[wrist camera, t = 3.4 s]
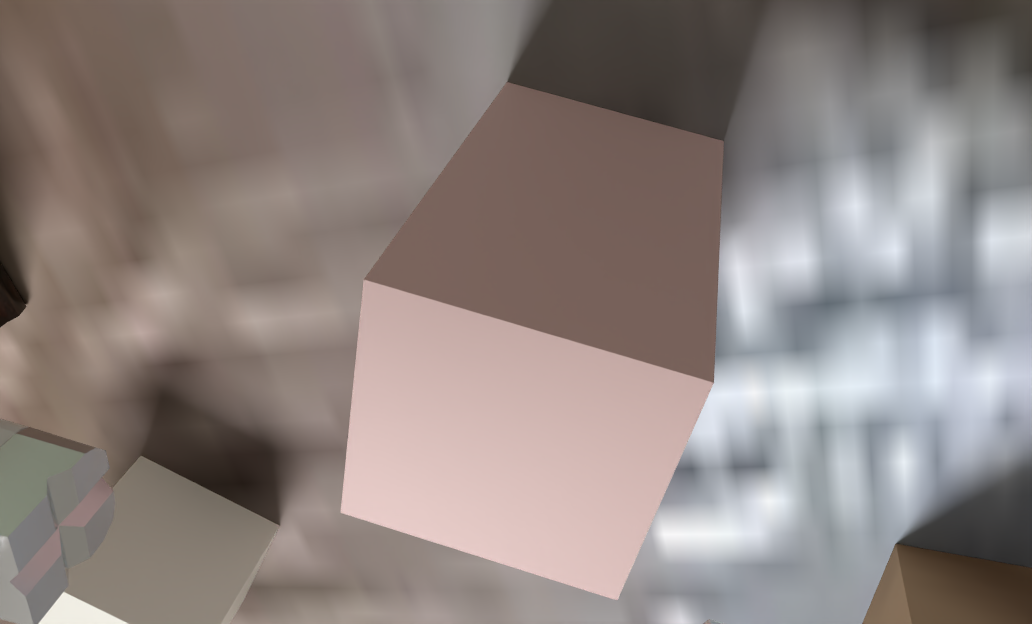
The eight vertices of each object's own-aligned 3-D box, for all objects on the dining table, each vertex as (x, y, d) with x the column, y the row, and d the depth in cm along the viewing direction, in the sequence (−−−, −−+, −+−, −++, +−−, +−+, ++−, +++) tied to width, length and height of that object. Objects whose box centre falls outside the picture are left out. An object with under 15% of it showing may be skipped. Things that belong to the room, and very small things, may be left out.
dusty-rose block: (723, 141, 17) (713, 382, 10) (658, 319, 19) (617, 600, 13) (506, 81, 17) (363, 279, 11) (472, 264, 20) (341, 512, 13)
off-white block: (280, 524, 27) (200, 658, 23) (244, 598, 30) (167, 729, 26) (142, 453, 27) (34, 577, 23) (119, 536, 30) (20, 659, 25)
